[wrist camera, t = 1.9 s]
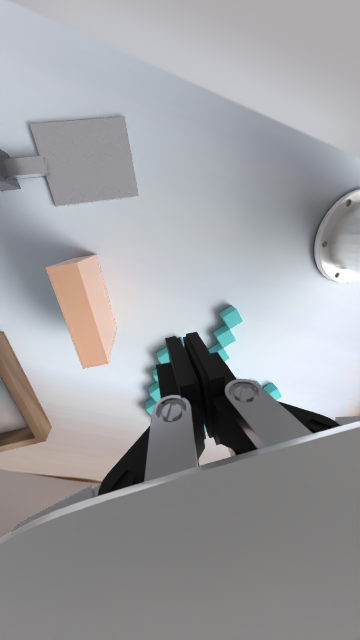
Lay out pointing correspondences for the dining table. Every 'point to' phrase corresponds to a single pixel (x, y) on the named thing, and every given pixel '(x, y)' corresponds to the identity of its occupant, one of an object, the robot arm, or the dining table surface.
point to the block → (85, 307)
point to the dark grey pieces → (77, 161)
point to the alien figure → (224, 339)
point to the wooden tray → (21, 402)
